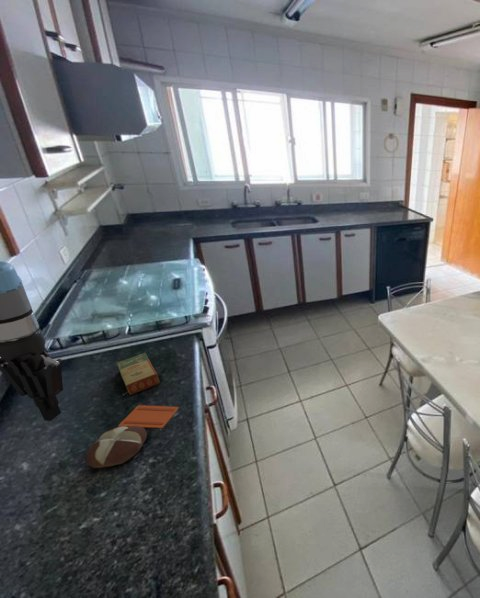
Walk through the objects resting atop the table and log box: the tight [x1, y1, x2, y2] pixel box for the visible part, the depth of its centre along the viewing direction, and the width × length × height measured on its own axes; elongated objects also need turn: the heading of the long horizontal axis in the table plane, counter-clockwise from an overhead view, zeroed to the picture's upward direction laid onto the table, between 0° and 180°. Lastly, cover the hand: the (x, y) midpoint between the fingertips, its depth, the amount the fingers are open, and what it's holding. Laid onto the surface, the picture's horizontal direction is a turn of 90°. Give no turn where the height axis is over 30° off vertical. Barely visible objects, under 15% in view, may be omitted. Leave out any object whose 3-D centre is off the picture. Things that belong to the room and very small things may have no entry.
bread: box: [85, 426, 148, 469], centre depth 82 cm, size 11×11×5 cm
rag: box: [117, 404, 179, 429], centre depth 94 cm, size 12×8×1 cm, turn 91°
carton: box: [116, 352, 161, 396], centre depth 107 cm, size 8×16×4 cm, turn 46°
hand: (53, 416), depth 80 cm, fingers closed
